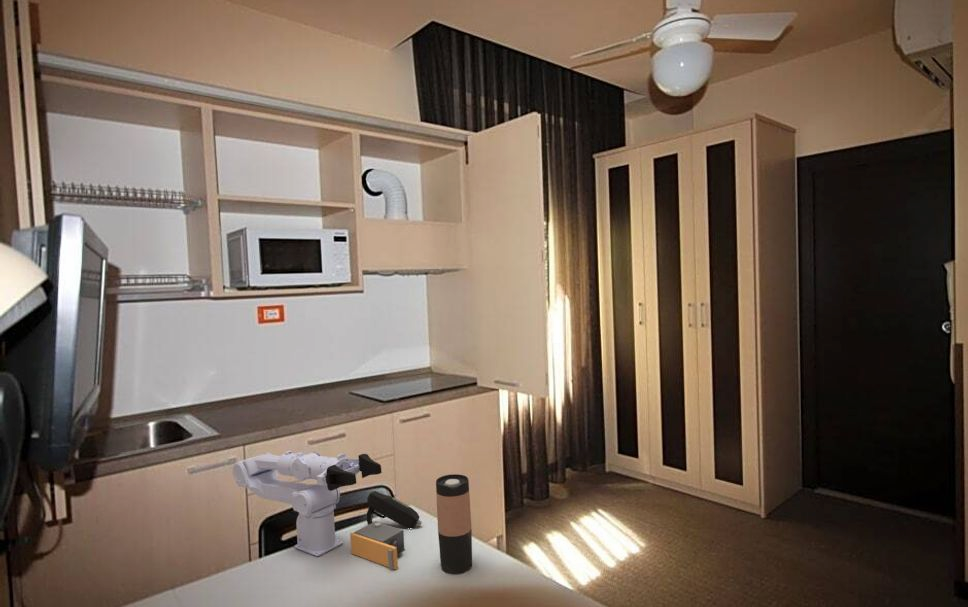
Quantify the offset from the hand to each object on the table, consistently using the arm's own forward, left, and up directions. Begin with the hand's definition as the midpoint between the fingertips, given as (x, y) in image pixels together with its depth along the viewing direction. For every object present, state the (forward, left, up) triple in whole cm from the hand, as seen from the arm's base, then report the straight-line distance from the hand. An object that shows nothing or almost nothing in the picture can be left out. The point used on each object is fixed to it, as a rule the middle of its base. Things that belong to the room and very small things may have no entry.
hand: (367, 474), depth 125 cm
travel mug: (+17, +10, -22) cm, 29 cm away
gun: (-11, +18, -22) cm, 31 cm away
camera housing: (-4, +6, -22) cm, 23 cm away
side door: (-2, +1, -21) cm, 22 cm away
